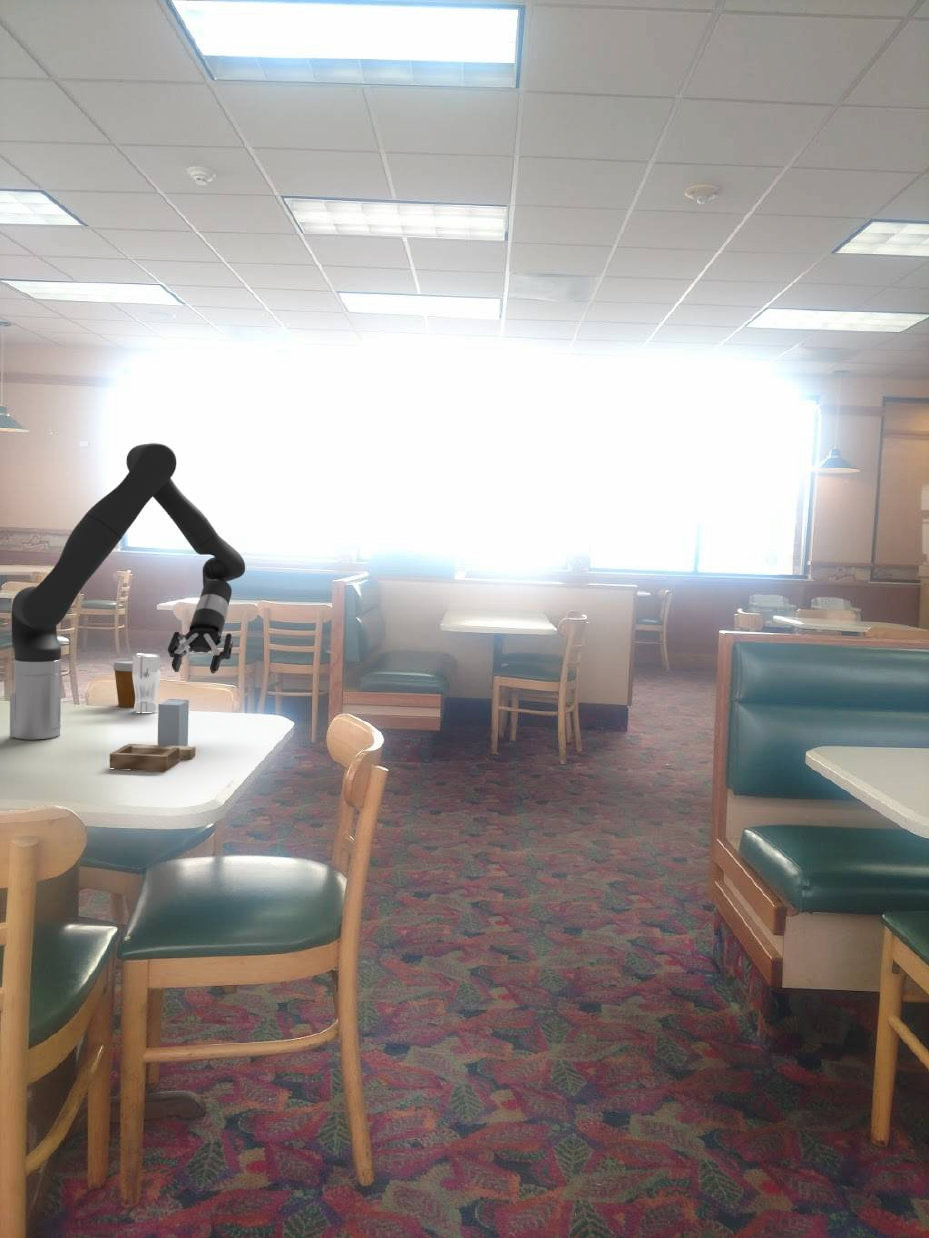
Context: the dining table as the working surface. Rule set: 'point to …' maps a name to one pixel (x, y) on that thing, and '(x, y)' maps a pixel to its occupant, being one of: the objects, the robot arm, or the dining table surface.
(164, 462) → the robot arm
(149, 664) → the beer glass
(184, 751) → the dock step
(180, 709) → the pale grey upright block
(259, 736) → the dining table surface
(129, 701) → the disposable coffee cup
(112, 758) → the tray
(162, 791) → the dining table surface
